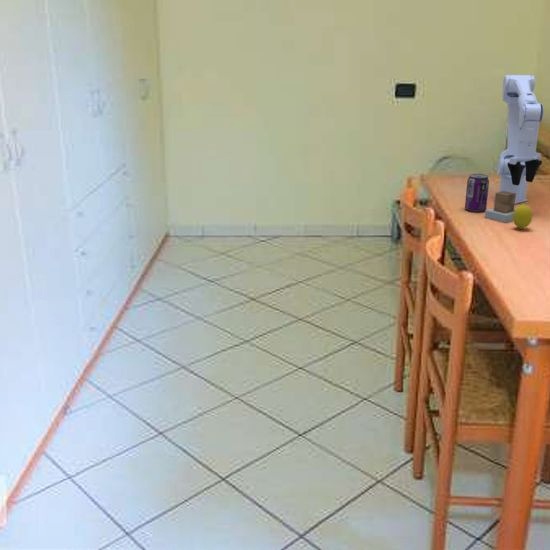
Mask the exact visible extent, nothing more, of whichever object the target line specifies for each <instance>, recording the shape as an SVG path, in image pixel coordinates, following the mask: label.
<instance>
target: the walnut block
mask: <svg viewBox="0 0 550 550" xmlns="http://www.w3.org/2000/svg"><path fill="white" fill-rule="evenodd" d="M515 197H516V193H512V192H507V191H501V192H500V191H497V192H495V195H494V199H495V201H494V204H493V208H494V211H497V212H501V213H505V214H506V213H509V212H513V211H514V210H515V205H516V204H515Z"/></svg>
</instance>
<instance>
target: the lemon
mask: <svg viewBox="0 0 550 550" xmlns="http://www.w3.org/2000/svg"><path fill="white" fill-rule="evenodd" d="M514 210H515V211H514V214H513V221H512V222H513V223H514V225H515V226H516V227H517V228H518V229H520V230H523V229H524V228H526V227H528V226H529V225H530V224H531V222H532V220H533V212H532V211H533V210H532V209H531V208H530V206H528V205H527V204H525V203H523V204H521V205H518V206H517V207H516V208H514Z"/></svg>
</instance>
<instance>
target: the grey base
mask: <svg viewBox="0 0 550 550" xmlns="http://www.w3.org/2000/svg"><path fill="white" fill-rule="evenodd" d="M514 211H515V209H514ZM514 211H513V212H509V213H506V214H505V213H501V212H497V211H494V207H493V208H489V209H486V210H484V219H488V218H489V219H488V220H492V219H493V221H496V222H500V221H501V222H500V223H503V222H504V224H507V223H510V221H511V222H514V221H513V214H514Z"/></svg>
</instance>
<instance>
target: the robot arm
mask: <svg viewBox="0 0 550 550" xmlns="http://www.w3.org/2000/svg"><path fill="white" fill-rule="evenodd" d="M535 85H536V77H535V76H534V75H533V74H530V75H529V74H505V76H503V81H502V101H503V102H505V103H506V104H507V111H508V112H507V142H506V143H507V144H506V145H507V146H506V149H505V150H502V152H501V153H500V154H499V156H498V162H497V174H498V175H499V176H500V185H499V186H500V187H499V192H501V191H507V192H512V193H516V197H515V205H516V204H520V203H524V202H527V201H528V199H527V198H526V197H527V191H528V190H527V188H528V183H533V182H534V179H535V176H536V174H537V171H538V170H539V168H540V167H541V165H542V164H543V160H541V158H542V153H541V152H537V144H538V137H539V129H540V123H542V120H543V116H544V105H543V103H539V102H538V99H537V95H536V94H535V93H534V89H535ZM493 201H494V202H495V198H494V199H493Z"/></svg>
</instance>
